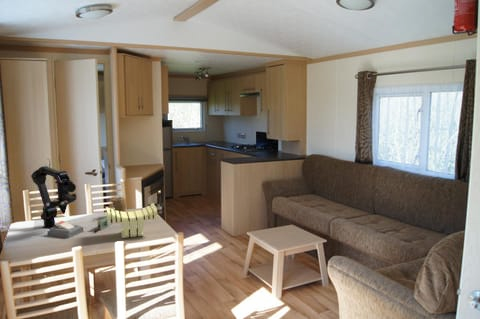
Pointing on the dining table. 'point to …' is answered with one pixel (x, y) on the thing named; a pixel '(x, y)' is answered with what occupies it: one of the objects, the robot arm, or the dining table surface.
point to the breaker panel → (65, 231)
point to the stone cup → (120, 205)
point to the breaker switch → (65, 225)
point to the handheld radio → (103, 224)
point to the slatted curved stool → (132, 220)
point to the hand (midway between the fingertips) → (63, 213)
